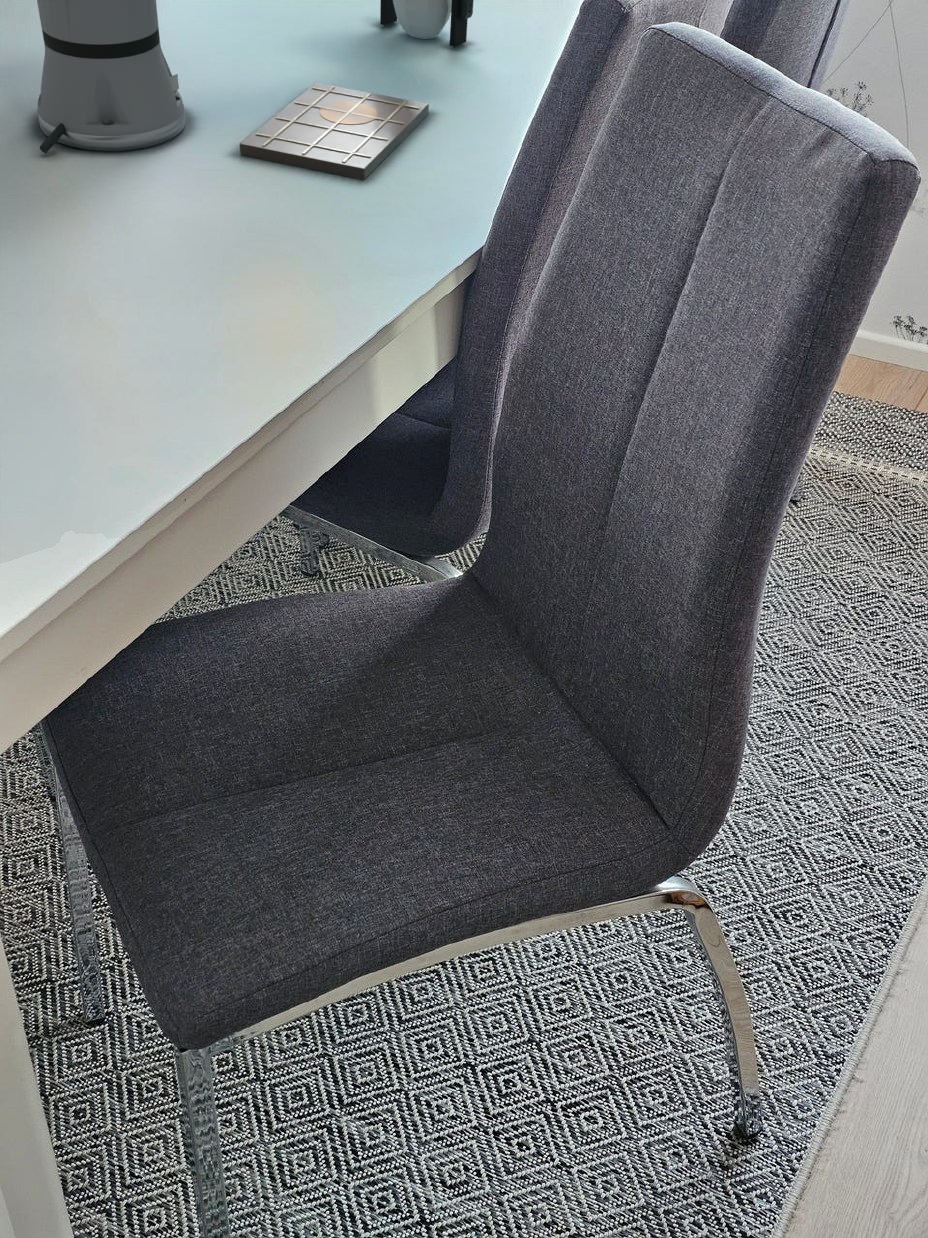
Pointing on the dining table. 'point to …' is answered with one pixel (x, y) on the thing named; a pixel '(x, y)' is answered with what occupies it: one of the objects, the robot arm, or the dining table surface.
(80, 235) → the dining table surface
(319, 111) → the board
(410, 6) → the apple
